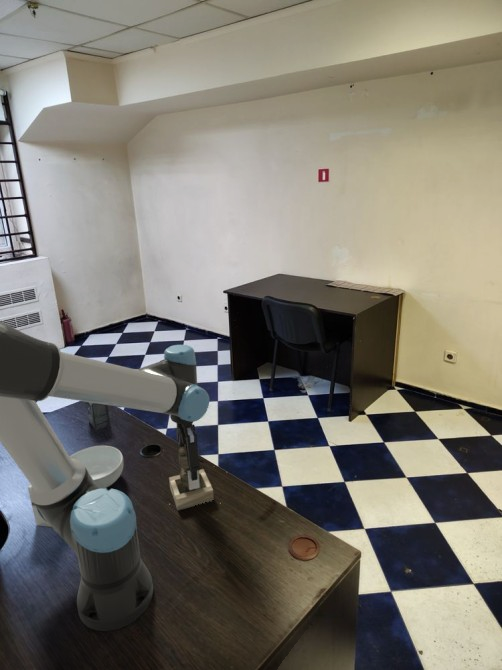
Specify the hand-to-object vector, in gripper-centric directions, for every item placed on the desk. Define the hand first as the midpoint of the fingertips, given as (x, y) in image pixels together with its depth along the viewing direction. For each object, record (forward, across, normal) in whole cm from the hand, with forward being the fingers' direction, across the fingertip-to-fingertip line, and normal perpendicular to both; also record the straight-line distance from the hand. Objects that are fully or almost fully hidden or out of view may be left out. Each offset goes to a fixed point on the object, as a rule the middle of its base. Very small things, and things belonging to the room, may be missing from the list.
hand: (190, 477), depth 122 cm
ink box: (+6, +6, +36) cm, 36 cm away
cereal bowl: (+6, +16, +24) cm, 30 cm away
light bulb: (+5, 0, 0) cm, 5 cm away
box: (+6, +51, +22) cm, 56 cm away
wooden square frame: (+5, 0, 0) cm, 5 cm away
